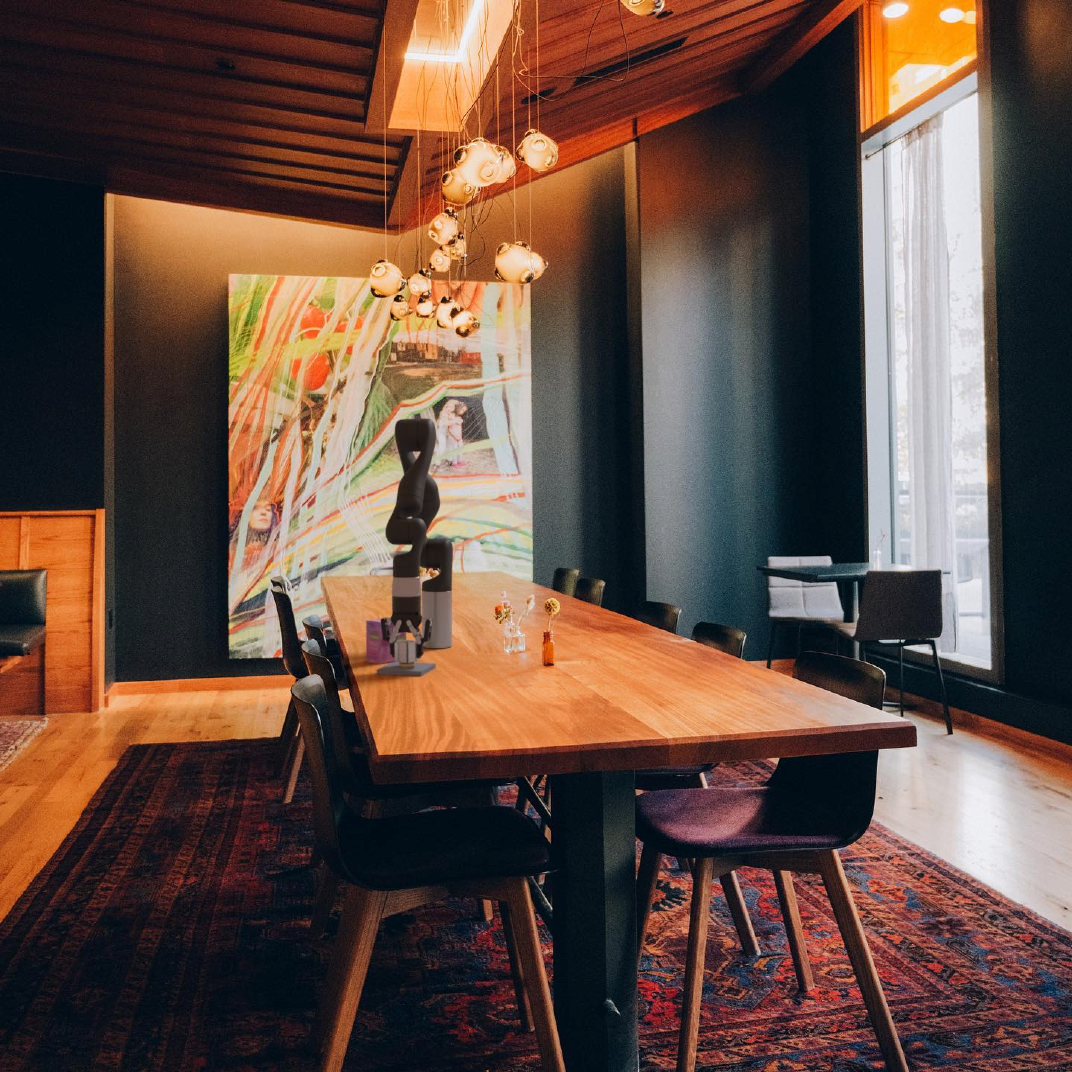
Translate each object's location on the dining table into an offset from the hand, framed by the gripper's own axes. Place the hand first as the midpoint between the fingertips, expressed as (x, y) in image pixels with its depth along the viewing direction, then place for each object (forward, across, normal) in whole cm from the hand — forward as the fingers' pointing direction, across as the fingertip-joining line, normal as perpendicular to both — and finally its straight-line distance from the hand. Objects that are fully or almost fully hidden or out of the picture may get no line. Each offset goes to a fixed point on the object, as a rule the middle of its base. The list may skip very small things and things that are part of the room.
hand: (406, 657), depth 244 cm
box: (+4, +11, -14) cm, 18 cm away
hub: (+1, 0, 0) cm, 1 cm away
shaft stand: (+4, 0, 0) cm, 4 cm away
